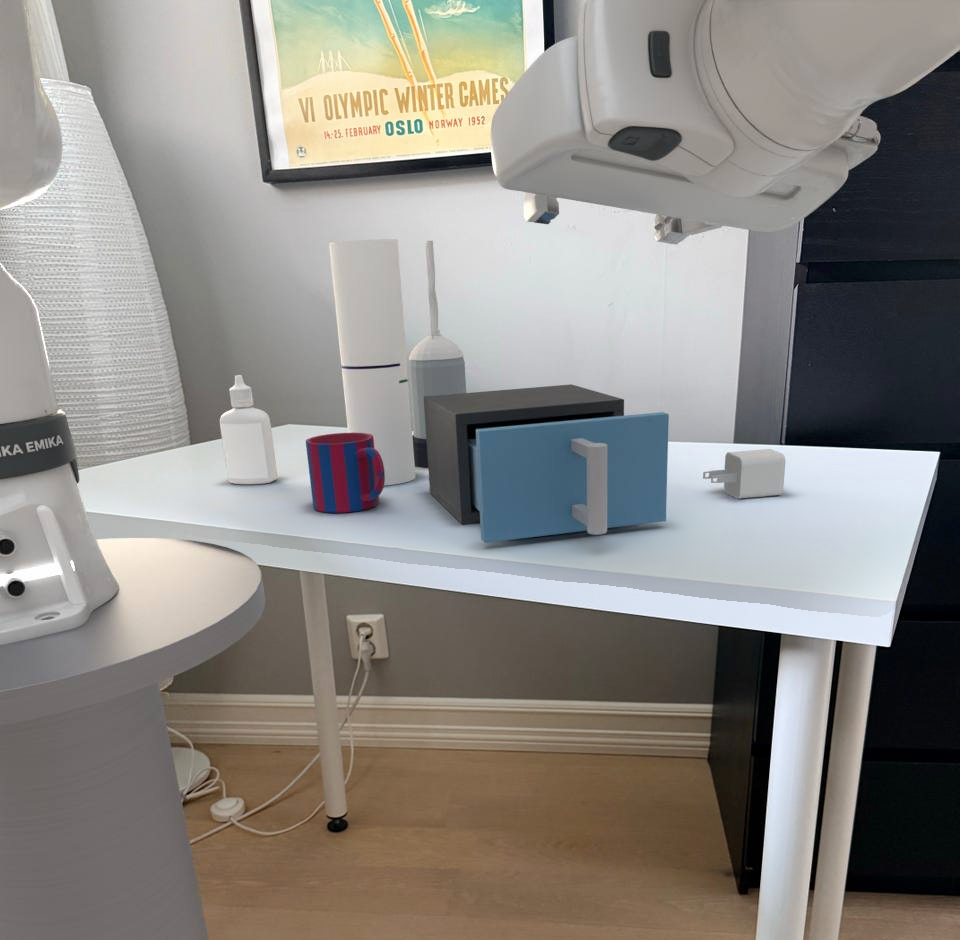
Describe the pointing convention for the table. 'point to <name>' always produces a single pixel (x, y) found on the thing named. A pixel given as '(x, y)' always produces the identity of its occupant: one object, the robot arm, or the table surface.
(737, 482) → the usb wall charger
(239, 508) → the table surface
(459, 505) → the dark grey cabinet
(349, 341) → the cylindrical container
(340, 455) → the mug
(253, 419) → the eye dropper bottle
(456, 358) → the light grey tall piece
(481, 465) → the drawer
